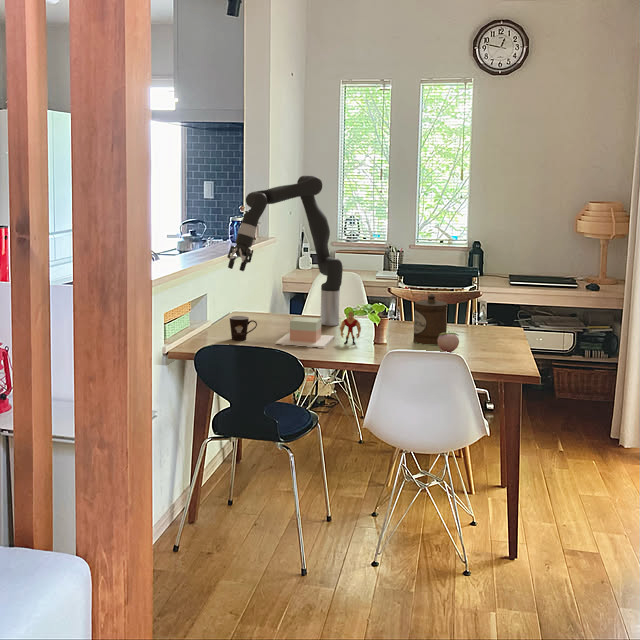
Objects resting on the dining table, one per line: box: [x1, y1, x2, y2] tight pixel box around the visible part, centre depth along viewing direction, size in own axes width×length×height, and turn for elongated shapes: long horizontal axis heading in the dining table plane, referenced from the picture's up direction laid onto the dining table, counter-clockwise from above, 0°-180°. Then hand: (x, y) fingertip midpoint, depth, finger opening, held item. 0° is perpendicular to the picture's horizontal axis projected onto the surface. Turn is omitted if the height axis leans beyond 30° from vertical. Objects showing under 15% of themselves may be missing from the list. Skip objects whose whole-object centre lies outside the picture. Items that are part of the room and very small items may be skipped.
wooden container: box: [413, 293, 448, 345], centre depth 368 cm, size 15×15×22 cm
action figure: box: [339, 310, 362, 345], centre depth 361 cm, size 10×4×15 cm, turn 82°
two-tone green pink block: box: [275, 316, 335, 349], centre depth 363 cm, size 22×22×10 cm
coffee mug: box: [229, 315, 258, 342], centre depth 364 cm, size 12×9×10 cm
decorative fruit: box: [437, 332, 460, 353], centre depth 347 cm, size 9×8×10 cm
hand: (235, 269), depth 363 cm, fingers open, 8 cm apart
